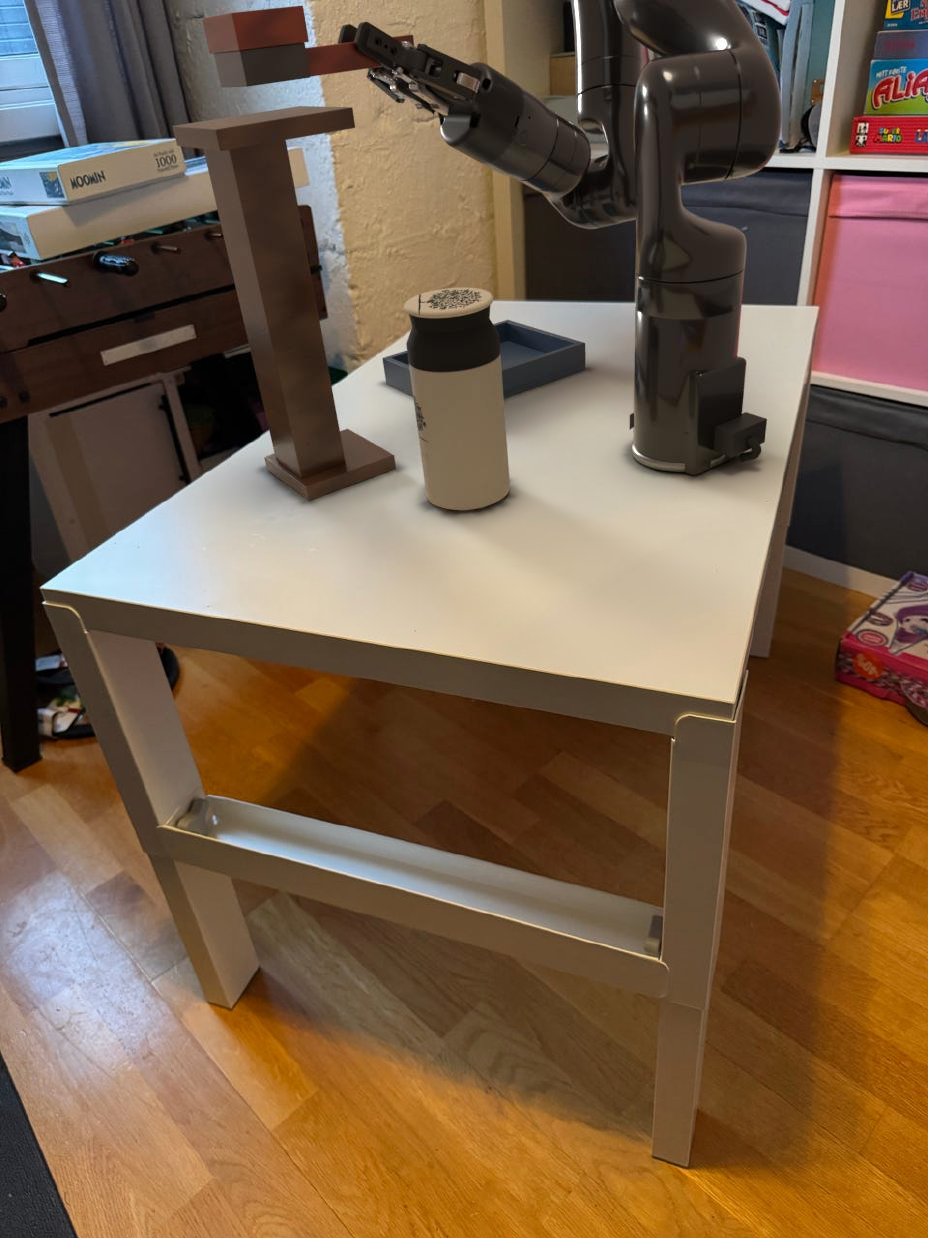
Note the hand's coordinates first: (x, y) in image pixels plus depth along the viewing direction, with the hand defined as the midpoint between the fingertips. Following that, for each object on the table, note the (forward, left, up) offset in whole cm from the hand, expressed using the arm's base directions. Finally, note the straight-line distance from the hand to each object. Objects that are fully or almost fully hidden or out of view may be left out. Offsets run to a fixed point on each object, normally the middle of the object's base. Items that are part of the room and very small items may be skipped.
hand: (350, 35), depth 74 cm
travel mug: (-15, +2, -37) cm, 40 cm away
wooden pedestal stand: (0, +9, -37) cm, 38 cm away
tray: (+10, -18, -37) cm, 42 cm away
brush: (0, +3, -2) cm, 4 cm away
